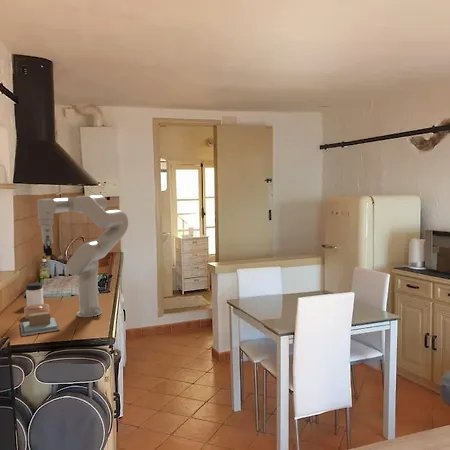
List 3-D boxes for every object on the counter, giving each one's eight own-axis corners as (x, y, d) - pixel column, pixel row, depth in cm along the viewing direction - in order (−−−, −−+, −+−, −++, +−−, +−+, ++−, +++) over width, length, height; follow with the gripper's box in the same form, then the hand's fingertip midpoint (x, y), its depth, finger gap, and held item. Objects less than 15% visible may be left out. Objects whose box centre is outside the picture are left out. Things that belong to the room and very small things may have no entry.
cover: (57, 327, 212) (56, 315, 211) (24, 333, 205) (23, 320, 205) (54, 319, 224) (53, 307, 223) (23, 324, 218) (22, 312, 217)
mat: (59, 330, 209) (59, 329, 209) (21, 336, 202) (21, 335, 202) (54, 319, 227) (54, 317, 227) (19, 324, 220) (19, 323, 220)
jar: (23, 306, 251) (22, 285, 249) (34, 302, 258) (33, 281, 257) (36, 307, 247) (34, 286, 246) (47, 303, 255) (45, 283, 254)
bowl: (54, 315, 234) (54, 305, 234) (33, 321, 224) (32, 311, 224) (40, 311, 241) (40, 302, 240) (19, 317, 231) (19, 308, 231)
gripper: (55, 223, 232) (57, 256, 234) (51, 220, 247) (53, 251, 249) (39, 224, 229) (41, 257, 230) (37, 221, 244) (39, 252, 246)
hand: (47, 254), depth 240 cm, fingers open, 9 cm apart
